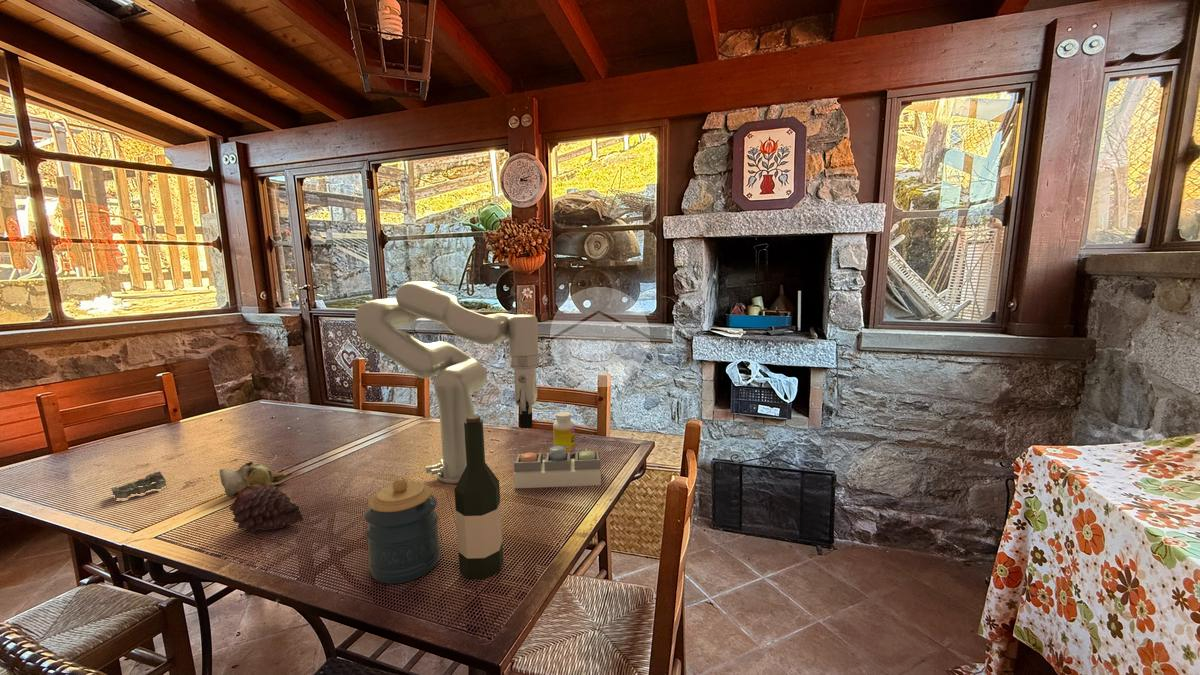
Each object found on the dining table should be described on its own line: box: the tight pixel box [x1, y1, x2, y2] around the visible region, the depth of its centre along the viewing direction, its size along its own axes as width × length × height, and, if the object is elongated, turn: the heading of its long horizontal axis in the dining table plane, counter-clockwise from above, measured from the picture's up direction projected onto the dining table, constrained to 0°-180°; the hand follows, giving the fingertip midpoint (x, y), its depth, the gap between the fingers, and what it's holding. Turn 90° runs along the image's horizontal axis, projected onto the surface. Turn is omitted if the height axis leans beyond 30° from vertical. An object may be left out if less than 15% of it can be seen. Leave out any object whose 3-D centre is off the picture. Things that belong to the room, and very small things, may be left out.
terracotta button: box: [520, 452, 537, 462], centre depth 129 cm, size 4×4×3 cm
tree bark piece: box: [110, 470, 167, 500], centre depth 126 cm, size 10×7×4 cm
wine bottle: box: [454, 414, 504, 580], centre depth 89 cm, size 8×8×30 cm
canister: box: [364, 477, 441, 585], centre depth 91 cm, size 13×13×18 cm
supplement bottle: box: [552, 411, 576, 456], centre depth 148 cm, size 7×7×13 cm
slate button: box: [549, 445, 566, 461], centre depth 129 cm, size 4×4×3 cm
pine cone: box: [229, 486, 304, 533], centre depth 107 cm, size 18×10×10 cm
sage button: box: [579, 450, 595, 460], centre depth 129 cm, size 4×4×3 cm
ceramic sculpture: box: [219, 461, 293, 497], centre depth 125 cm, size 11×9×15 cm
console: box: [513, 450, 602, 489], centre depth 129 cm, size 23×9×6 cm, turn 92°
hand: (526, 427), depth 128 cm, fingers closed
